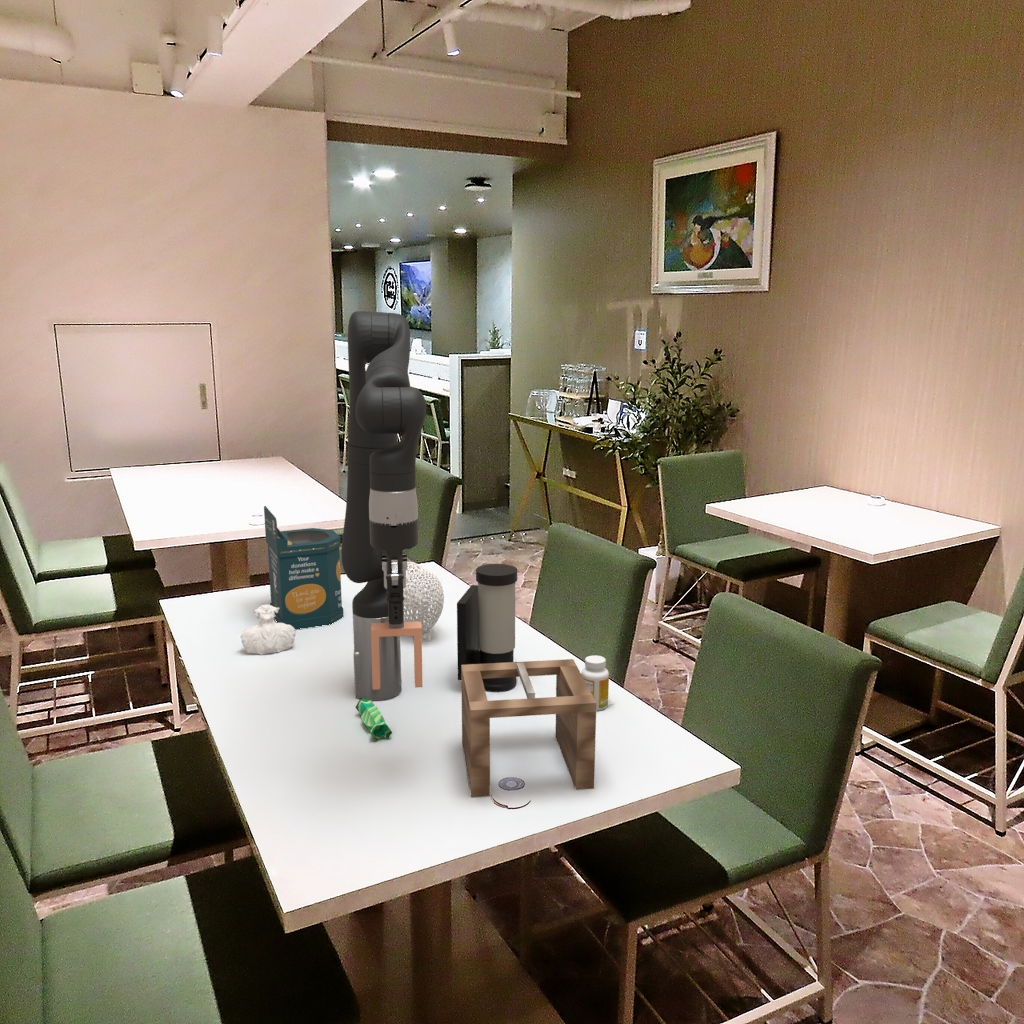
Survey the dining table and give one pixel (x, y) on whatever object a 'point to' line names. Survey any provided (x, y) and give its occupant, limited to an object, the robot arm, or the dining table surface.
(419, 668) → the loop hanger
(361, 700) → the candy
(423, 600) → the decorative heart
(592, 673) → the supplement bottle
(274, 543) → the donation box
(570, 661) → the wooden frame stand
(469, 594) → the light fixture
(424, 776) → the dining table surface
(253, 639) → the bust
